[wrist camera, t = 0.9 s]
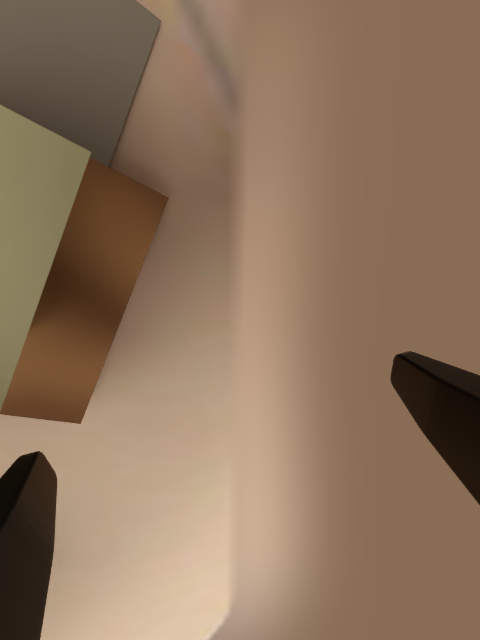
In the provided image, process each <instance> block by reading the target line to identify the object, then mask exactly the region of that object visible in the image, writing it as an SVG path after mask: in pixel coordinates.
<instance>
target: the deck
mask: <svg viewBox="0 0 480 640" xmlns="http://www.w3.org/2000/svg"><path fill="white" fill-rule="evenodd" d="M167 200H168V197H166V196H164V195H162V194H160V193H158V192H156V191H154V190H152V189H150V188H148V187H146V186H145V185H143V184H141V183H139V182H137V181H135V180H133V179H131V178H129V177H127V176H125V175H123V174H121V173H119V172H117V171H115V170H113V169H111V168H109V167H107V166H105V165H103V164H101V163H99V162H97V161H95V160H93V159H92V158H90V157H89V160H88V163H87V166H86V169H85V172H84V174H83V177H82V180H81V183H80V186H79V189H78V191H77V194H76V197H75V200H74V203H73V206H72V209H71V211H70V214H69V217H68V220H67V223H66V226H65V229H64V231H63V234H62V237H61V240H60V243H59V246H58V249H57V251H56V254H55V257H54V260H53V263H52V266H51V268H50V271H49V274H48V277H47V280H46V283H45V286H44V288H43V291H42V294H41V297H40V300H39V303H38V306H37V308H36V311H35V314H34V317H33V320H32V323H31V326H30V328H29V331H28V334H27V337H26V340H25V343H24V345H23V348H22V351H21V354H20V357H19V360H18V363H17V365H16V368H15V371H14V374H13V377H12V380H11V383H10V385H9V388H8V391H7V394H6V397H5V400H4V402H3V405H2V408H1V411H0V414H4V415H12V416H21V417H29V418H37V419H45V420H54V421H62V422H70V423H79V424H81V421H82V419H83V416H84V414H85V411H86V409H87V406H88V403H89V401H90V398H91V396H92V393H93V391H94V388H95V385H96V383H97V380H98V378H99V375H100V373H101V370H102V367H103V365H104V362H105V360H106V357H107V355H108V352H109V350H110V347H111V344H112V342H113V339H114V337H115V334H116V332H117V329H118V326H119V324H120V321H121V319H122V316H123V314H124V311H125V308H126V306H127V303H128V301H129V298H130V296H131V293H132V290H133V288H134V285H135V283H136V280H137V278H138V275H139V272H140V270H141V267H142V265H143V262H144V260H145V257H146V254H147V252H148V249H149V247H150V244H151V242H152V239H153V236H154V234H155V231H156V229H157V226H158V224H159V221H160V218H161V216H162V213H163V211H164V208H165V206H166V203H167Z"/></svg>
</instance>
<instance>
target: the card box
mask: <svg viewBox="0 0 480 640" xmlns="http://www.w3.org/2000/svg"><path fill="white" fill-rule="evenodd" d="M90 154H91V152H90V151H89V150H87V149H85V148H83V147H81V146H79V145H77V144H75V143H73V142H71V141H69V140H67V139H65V138H64V137H62V136H60V135H58V134H56V133H54V132H52V131H50V130H48V129H46V128H44V127H42V126H40V125H38V124H37V123H35V122H33V121H31V120H29V119H27V118H25V117H23V116H21V115H19V114H17V113H15V112H13V111H11V110H10V109H8V108H6V107H4V106H2V105H0V411H1V408H2V405H3V402H4V400H5V397H6V394H7V391H8V388H9V385H10V383H11V380H12V377H13V374H14V371H15V368H16V365H17V363H18V360H19V357H20V354H21V351H22V348H23V345H24V343H25V340H26V337H27V334H28V331H29V328H30V326H31V323H32V320H33V317H34V314H35V311H36V308H37V306H38V303H39V300H40V297H41V294H42V291H43V288H44V286H45V283H46V280H47V277H48V274H49V271H50V268H51V266H52V263H53V260H54V257H55V254H56V251H57V249H58V246H59V243H60V240H61V237H62V234H63V231H64V229H65V226H66V223H67V220H68V217H69V214H70V211H71V209H72V206H73V203H74V200H75V197H76V194H77V191H78V189H79V186H80V183H81V180H82V177H83V174H84V172H85V169H86V166H87V163H88V160H89V157H90Z"/></svg>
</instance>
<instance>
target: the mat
mask: <svg viewBox="0 0 480 640" xmlns="http://www.w3.org/2000/svg"><path fill="white" fill-rule="evenodd" d="M160 22H161V20H160V19H158V18H157V17H156V16H155V15H153V14H152V13H151V12H150V11H148V10H147V9H146V8H144V7H143V6H142V5H141V4H139V3H138V2H137V1H136V0H0V105H2V106H4V107H6V108H8V109H10V110H11V111H13V112H15V113H17V114H19V115H21V116H23V117H25V118H27V119H29V120H31V121H33V122H35V123H37V124H38V125H40V126H42V127H44V128H46V129H48V130H50V131H52V132H54V133H56V134H58V135H60V136H62V137H64V138H65V139H67V140H69V141H71V142H73V143H75V144H77V145H79V146H81V147H83V148H85V149H87V150H89V151H90V152H91V154H90V158H92V159H93V160H95V161H97V162H99V163H101V164H103V165H105V166H107V167H109V164H110V161H111V158H112V156H113V153H114V150H115V147H116V145H117V142H118V139H119V136H120V133H121V131H122V128H123V125H124V122H125V120H126V117H127V114H128V111H129V108H130V106H131V103H132V100H133V97H134V94H135V92H136V89H137V86H138V83H139V81H140V78H141V75H142V72H143V69H144V67H145V64H146V61H147V58H148V56H149V53H150V50H151V47H152V44H153V42H154V39H155V36H156V33H157V31H158V28H159V25H160Z"/></svg>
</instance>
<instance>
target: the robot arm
mask: <svg viewBox="0 0 480 640" xmlns="http://www.w3.org/2000/svg"><path fill="white" fill-rule="evenodd" d="M391 383H392V385H393V387H394V389H395V390H396V392H397V394H398V395H399V397H400V398H401V400H402V401H403V403H404V404H405V406H406V408H407V409H408V411H409V412H410V414H411V415H412V417H413V418H414V420H415V422H416V423H417V425H418V426H419V428H420V429H421V430H422V432H423V433H424V435H425V436H426V437H427V439H428V440H429V441H430V443H431V444H432V445H433V446H434V448H435V449H436V450H437V452H438V453H439V454H440V455H441V457H442V458H443V459H444V460H445V462H446V463H447V464H448V465H449V467H450V468H451V469H452V471H453V472H454V473H455V474H456V476H457V477H458V478H459V479H460V481H461V482H462V483H463V485H464V486H465V487H466V488H467V489H468V491H469V492H470V493H471V495H472V496H473V497H474V498H475V500H476V501H477V502H478V504H479V505H480V375H477V374H474V373H471V372H468V371H466V370H463V369H460V368H457V367H454V366H451V365H449V364H446V363H443V362H440V361H437V360H434V359H432V358H429V357H426V356H423V355H420V354H417V353H415V352H412V351H409V352H404V353H400V354H397V355H396V356H395V357H394V360H393V366H392V371H391ZM56 496H57V477H56V473H55V471H54V470H53V468H52V467H51V465H50V463H49V462H48V460H47V459H46V457H45V456H44V454H43V453H42V452H40V451H38V452H33V453H29V454H26V455H22V456H20V457H19V458H18V459H17V460H16V461H15V462H14V463H13V464H12V465H11V467H10V468H9V469H8V470H7V471H6V472H5V473H4V475H3V476H2V477H1V478H0V640H40V637H41V630H42V624H43V618H44V611H45V605H46V599H47V592H48V586H49V580H50V573H51V567H52V560H53V552H54V538H55V517H56Z"/></svg>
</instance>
